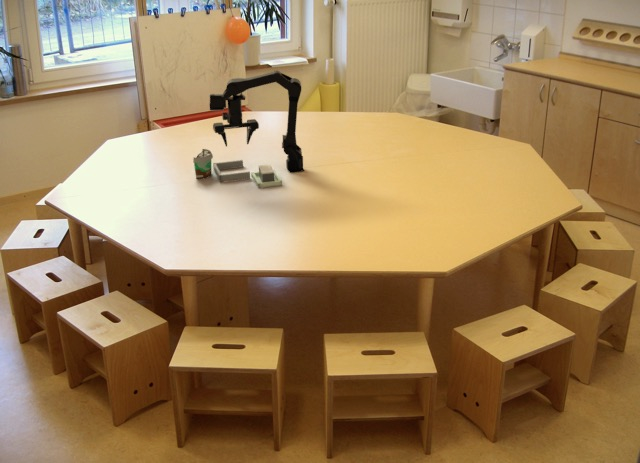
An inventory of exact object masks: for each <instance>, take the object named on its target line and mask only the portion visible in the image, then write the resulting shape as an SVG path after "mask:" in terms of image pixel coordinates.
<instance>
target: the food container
mask: <svg viewBox="0 0 640 463" xmlns="http://www.w3.org/2000/svg"><path fill="white" fill-rule="evenodd" d="M213 155H214V154H213V153H212V151H211V150H209V149H208V148H207V149H206V148H202V150H201V152H200V153H198V154H197V156H196V157H193V158H192V160H193V166H194V171H195V179H196V180H203V178H204V179H208V178H210V177H211V176H212V159H213V158H214V156H213ZM207 177H208V178H207Z"/></svg>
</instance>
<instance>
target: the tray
mask: <svg viewBox="0 0 640 463" xmlns="http://www.w3.org/2000/svg"><path fill="white" fill-rule="evenodd" d="M273 171H274V181H271V182H263V183H262V182H261V179H260V177H259V171H254V172H253V171H251V172H250V177H251V178H252V180H253V182H254V183H255V185H256V186H258V187H257V188H258V189H266V188H275V187H282V186H283V180H282V179H281V177H280V176H279V174H278V173H277V171H276V170H275V169H273Z"/></svg>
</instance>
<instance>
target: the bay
mask: <svg viewBox="0 0 640 463" xmlns="http://www.w3.org/2000/svg"><path fill="white" fill-rule="evenodd" d="M212 165H213V172H214V173H215V175H216V177H217V179H218V181H219V183H225V182H224V181H227V182H235V181H234V180H236V181H242V179H244V180H250V179H251V172H250V171H243V172H242V171H241V172H233V173H224V174H222V173H221V170H228V169H237V168H243V167H244V161H243V159H238V160H229V161H220V162H213V163H212Z"/></svg>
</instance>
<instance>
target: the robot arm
mask: <svg viewBox="0 0 640 463" xmlns="http://www.w3.org/2000/svg"><path fill="white" fill-rule="evenodd" d="M273 83H276V84H278V85H279V86H281V87H282V88H283V89H285V90H287V95H288V110H287V112H288V113H287V124H286V125H287V126H286V132H285V134H282V142H281V149H283V152H284V154H285V155H287V156H286V160H285V163H286V164H285V166H286V169H287V171H288V172H289V173H297V172H298V173H299V172H305V169H304V156H303V154H302V153H303V152H302V147H300V146H299V145H298V144H297V137H296V132H297V119H298V118H297V117H298V116H297V115H298V103H299V100H300V96H301V93H302V82H301V80H300V79H298V78H296V77H295V78H293V77H291V76H290V75H287V74H285V73H282V72H281V71H279V70H274V71H271V72H268V73H267V72H266V73H263V74H260V75H255V76H252V77H251V76H250V77H248V78H247V77H246V78H242V77H238V78H231V79H229V80H228V81H227V83H226V88H225V90H223V93H220V94H219V93H218V94H215V93H210V94H209V111H212V112H213V111H214V112H215V111H225V109H226V108H227V112H222V113H221V117H222V120H223V121H226V123H227V124H224V123H223V122H214V123H213V124H212V130H213V132H214V133H216V134H218V135H219V136H221V139H223V142H224V145H225V147H227V148H228V142H227V133H226V132H225V130H231V129H240V128H246V145H249V143H250V140H251V138H252V136H253V134H254V132H256V131H257V130H258V129H259V128H260V125H259V122H258V121H257V119H256V118H253V119H247V120H246V122H243V112H242V109H243V105H242V101H245V100H246V95H244V94H243V93H244V92H246V91H248V90H250V89H253V88H258V87H261V86H265V85H269V84H273Z"/></svg>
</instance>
